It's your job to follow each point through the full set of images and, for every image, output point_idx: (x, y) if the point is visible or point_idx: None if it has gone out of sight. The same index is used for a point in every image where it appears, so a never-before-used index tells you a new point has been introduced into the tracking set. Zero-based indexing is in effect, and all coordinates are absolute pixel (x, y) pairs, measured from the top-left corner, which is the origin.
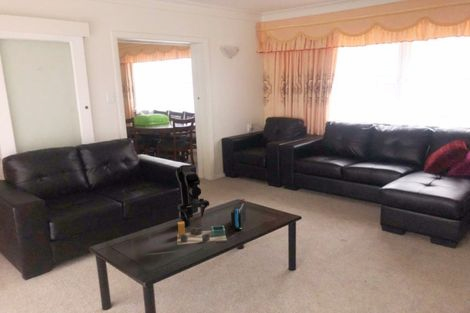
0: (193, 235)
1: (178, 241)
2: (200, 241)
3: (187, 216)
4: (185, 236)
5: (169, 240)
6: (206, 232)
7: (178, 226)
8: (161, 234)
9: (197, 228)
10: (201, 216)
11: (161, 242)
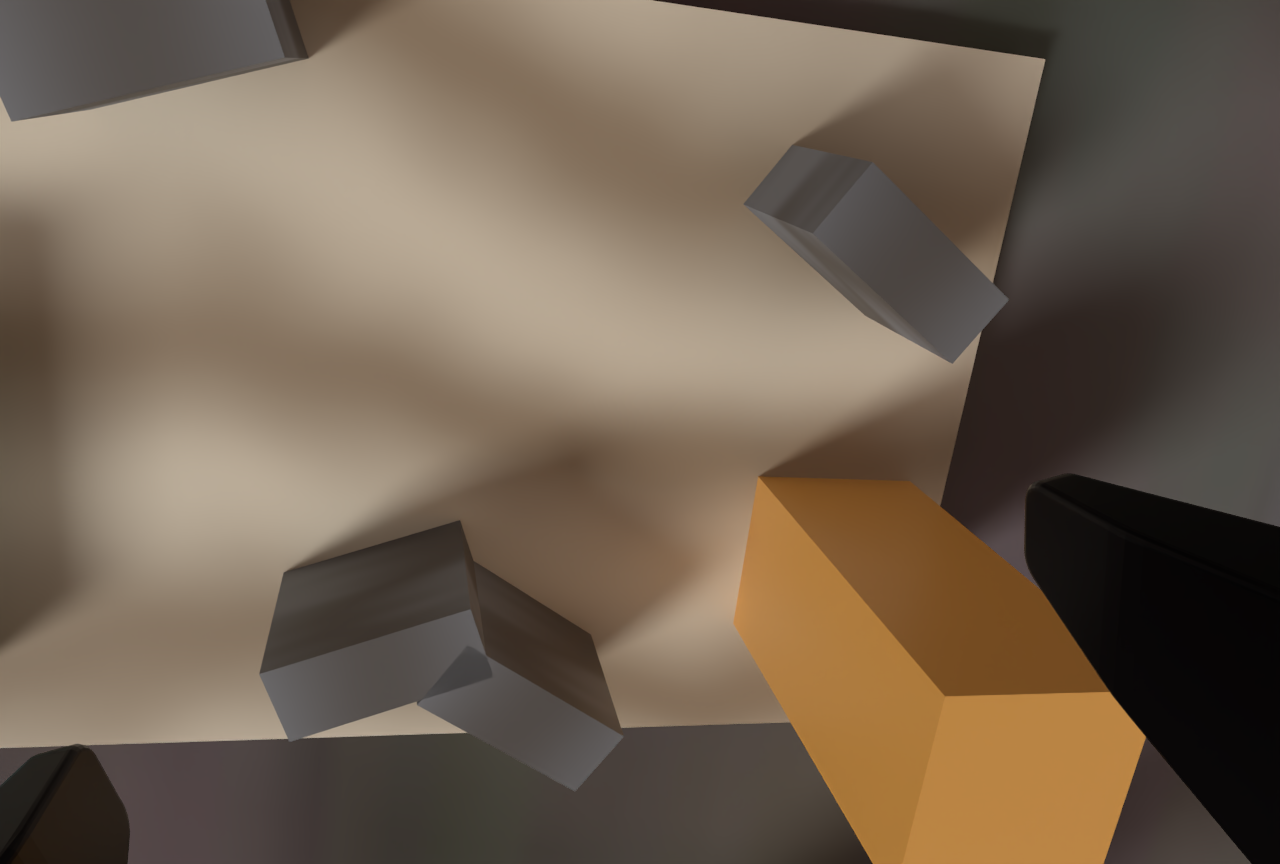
0: (537, 532)
1: (969, 254)
2: (380, 26)
3: (1269, 569)
4: (872, 174)
5: (1090, 464)
6: (143, 647)
7: None
8: (1144, 793)
9: (410, 671)
10: (90, 825)
11: (1258, 405)
